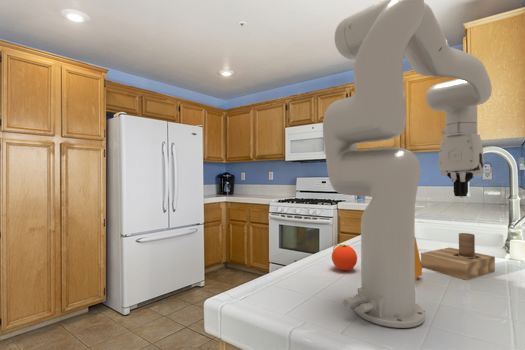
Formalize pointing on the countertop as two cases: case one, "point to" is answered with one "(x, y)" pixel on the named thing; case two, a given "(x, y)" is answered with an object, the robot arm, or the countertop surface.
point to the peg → (467, 245)
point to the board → (457, 263)
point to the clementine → (344, 257)
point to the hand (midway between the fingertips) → (460, 196)
